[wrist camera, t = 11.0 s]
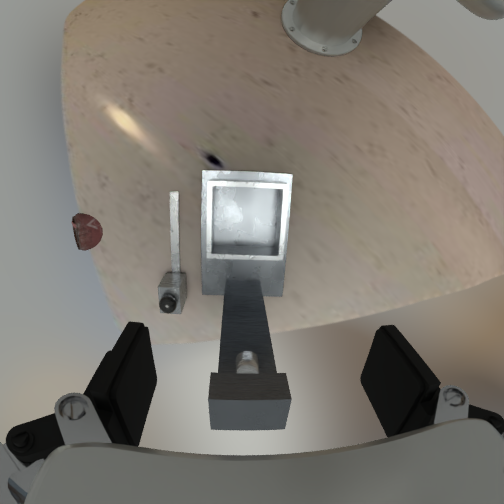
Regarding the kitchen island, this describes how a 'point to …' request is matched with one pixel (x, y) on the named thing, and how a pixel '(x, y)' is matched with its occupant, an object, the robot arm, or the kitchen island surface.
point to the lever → (172, 293)
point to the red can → (86, 231)
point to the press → (243, 290)
